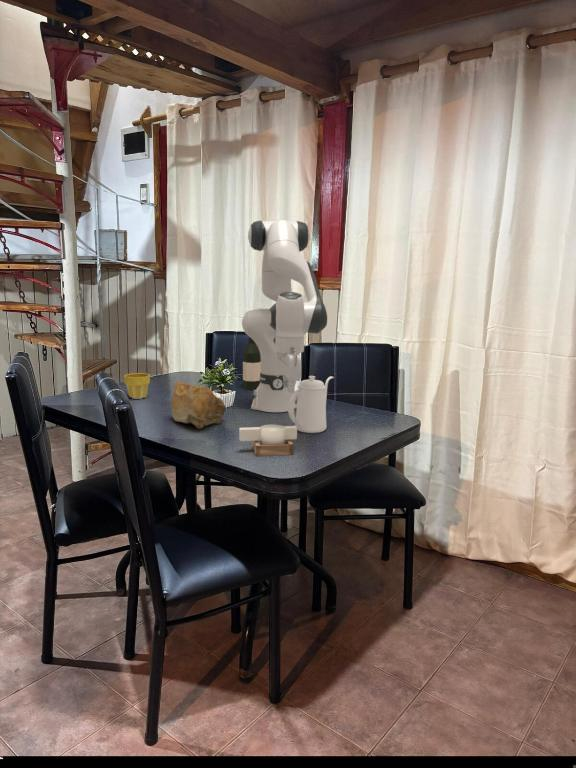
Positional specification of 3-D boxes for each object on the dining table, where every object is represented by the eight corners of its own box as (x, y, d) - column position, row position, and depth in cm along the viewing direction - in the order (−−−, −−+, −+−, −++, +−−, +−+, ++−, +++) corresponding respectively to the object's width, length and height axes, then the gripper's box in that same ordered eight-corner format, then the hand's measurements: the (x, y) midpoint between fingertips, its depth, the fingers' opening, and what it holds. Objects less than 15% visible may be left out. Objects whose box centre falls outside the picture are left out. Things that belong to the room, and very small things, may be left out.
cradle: (252, 446, 178) (252, 437, 178) (288, 445, 180) (288, 436, 180) (256, 456, 170) (256, 446, 169) (293, 454, 172) (293, 444, 171)
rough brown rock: (237, 430, 199) (240, 387, 197) (193, 433, 189) (195, 388, 187) (208, 417, 218) (210, 378, 216) (167, 419, 208) (168, 378, 206)
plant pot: (129, 395, 245) (128, 372, 243) (153, 395, 245) (152, 373, 243) (121, 400, 235) (120, 377, 233) (146, 401, 234) (145, 377, 232)
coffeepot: (344, 424, 205) (346, 373, 201) (301, 440, 186) (302, 383, 182) (320, 419, 212) (321, 369, 208) (276, 433, 193) (276, 378, 189)
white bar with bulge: (238, 447, 178) (238, 425, 177) (293, 445, 181) (293, 423, 180) (240, 455, 171) (240, 432, 169) (298, 452, 174) (298, 430, 172)
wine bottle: (264, 388, 263) (265, 322, 257) (254, 391, 256) (254, 324, 250) (249, 385, 268) (250, 321, 261) (239, 388, 261) (239, 322, 254)
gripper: (306, 350, 167) (305, 396, 170) (293, 341, 187) (292, 383, 190) (285, 350, 166) (284, 397, 169) (274, 341, 186) (273, 383, 189)
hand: (288, 389), depth 179 cm, fingers open, 6 cm apart
